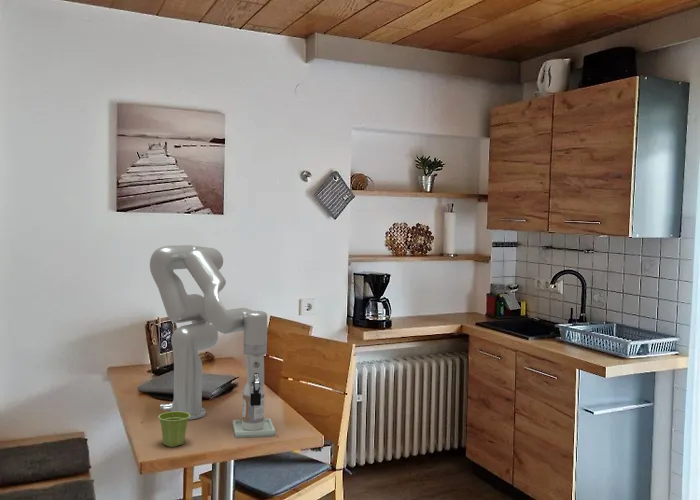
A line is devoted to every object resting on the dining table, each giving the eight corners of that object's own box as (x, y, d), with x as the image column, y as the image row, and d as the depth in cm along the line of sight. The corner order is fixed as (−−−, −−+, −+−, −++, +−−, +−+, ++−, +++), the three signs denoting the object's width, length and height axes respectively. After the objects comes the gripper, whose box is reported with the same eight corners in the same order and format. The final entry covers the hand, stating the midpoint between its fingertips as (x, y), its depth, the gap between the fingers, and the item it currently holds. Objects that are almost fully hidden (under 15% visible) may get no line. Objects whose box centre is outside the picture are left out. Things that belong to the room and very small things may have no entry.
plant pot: (161, 438, 202) (161, 410, 201) (191, 438, 202) (192, 411, 202) (154, 449, 192) (155, 420, 192) (186, 449, 193) (187, 420, 193)
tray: (235, 438, 204) (235, 432, 203) (232, 425, 216) (232, 420, 216) (275, 435, 207) (275, 430, 206) (270, 423, 219) (270, 418, 219)
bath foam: (239, 425, 213) (241, 365, 212) (260, 423, 216) (262, 364, 215) (244, 432, 207) (246, 370, 206) (265, 430, 209) (267, 369, 208)
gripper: (269, 354, 202) (268, 408, 203) (263, 343, 219) (262, 393, 220) (245, 355, 200) (244, 409, 201) (241, 344, 217) (240, 394, 218)
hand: (254, 401), depth 211 cm, fingers open, 9 cm apart
